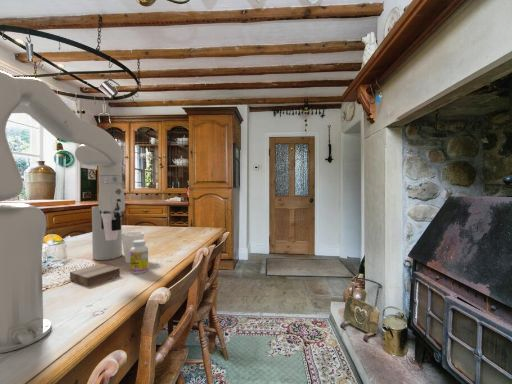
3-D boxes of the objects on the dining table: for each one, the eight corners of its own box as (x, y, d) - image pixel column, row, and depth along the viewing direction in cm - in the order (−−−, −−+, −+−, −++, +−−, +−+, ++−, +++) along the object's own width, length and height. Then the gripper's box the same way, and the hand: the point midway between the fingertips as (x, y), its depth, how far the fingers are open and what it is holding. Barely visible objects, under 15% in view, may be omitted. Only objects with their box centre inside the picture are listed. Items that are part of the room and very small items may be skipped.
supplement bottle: (126, 272, 106) (126, 241, 105) (140, 268, 112) (140, 238, 111) (137, 275, 103) (137, 243, 102) (151, 270, 109) (151, 240, 108)
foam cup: (119, 260, 122) (119, 233, 122) (140, 257, 128) (139, 231, 128) (125, 265, 115) (125, 236, 115) (146, 261, 121) (146, 233, 121)
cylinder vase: (127, 255, 130) (126, 206, 130) (101, 262, 120) (100, 208, 119) (112, 252, 137) (112, 205, 136) (87, 258, 126) (86, 207, 125)
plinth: (119, 275, 102) (119, 268, 102) (87, 286, 92) (87, 277, 92) (102, 270, 108) (102, 263, 108) (70, 279, 98) (69, 272, 97)
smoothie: (112, 241, 93) (111, 202, 92) (97, 240, 94) (96, 202, 94) (125, 238, 99) (124, 201, 99) (110, 237, 100) (110, 201, 100)
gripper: (134, 180, 95) (134, 230, 95) (107, 181, 104) (108, 226, 104) (113, 180, 88) (114, 233, 89) (87, 180, 97) (88, 228, 98)
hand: (111, 228), depth 96 cm, fingers closed on smoothie, 5 cm apart
